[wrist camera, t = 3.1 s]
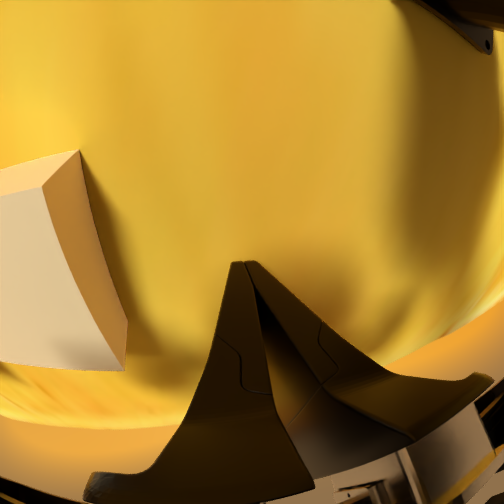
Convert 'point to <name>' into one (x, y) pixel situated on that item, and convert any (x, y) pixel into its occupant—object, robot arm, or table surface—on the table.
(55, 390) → the table surface
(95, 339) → the beige block
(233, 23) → the table surface
